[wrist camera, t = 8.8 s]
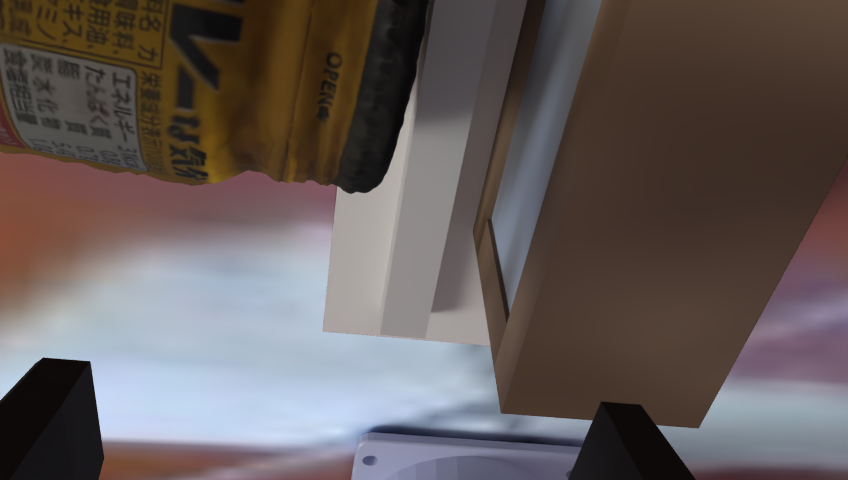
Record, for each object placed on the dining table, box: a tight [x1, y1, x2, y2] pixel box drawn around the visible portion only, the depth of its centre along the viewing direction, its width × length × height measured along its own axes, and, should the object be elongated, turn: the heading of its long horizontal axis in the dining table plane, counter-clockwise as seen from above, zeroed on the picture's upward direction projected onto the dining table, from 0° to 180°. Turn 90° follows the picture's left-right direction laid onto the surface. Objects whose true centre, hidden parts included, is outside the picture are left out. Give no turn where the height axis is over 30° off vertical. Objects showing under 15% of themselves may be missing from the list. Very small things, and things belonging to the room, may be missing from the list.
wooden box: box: [473, 0, 848, 428], centre depth 14 cm, size 12×4×6 cm, turn 171°
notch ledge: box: [323, 0, 527, 346], centre depth 16 cm, size 20×11×2 cm, turn 171°
